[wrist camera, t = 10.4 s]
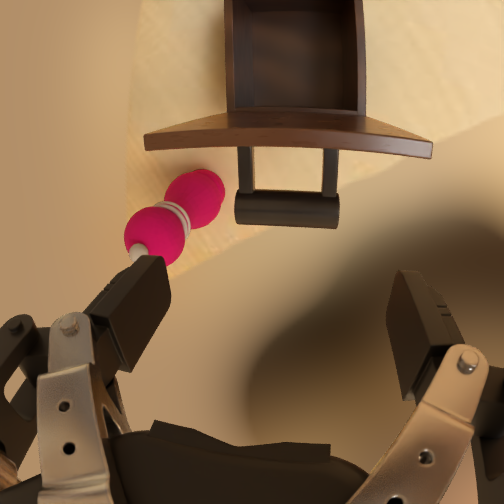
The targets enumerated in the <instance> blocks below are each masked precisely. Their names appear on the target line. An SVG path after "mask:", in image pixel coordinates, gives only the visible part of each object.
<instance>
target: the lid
mask: <svg viewBox="0 0 504 504" xmlns="http://www.w3.org/2000/svg"><path fill="white" fill-rule="evenodd" d="M143 137H144V146H145V150H146V151H152V150H166V149H181V148H201V147H237V152H238V176H239V189H238V190H237V192H236V196H235V205H234V213H235V220H236V223H237V224H244V225H268V226H289V227H310V228H327V229H336V228H337V226H338V221H339V208H340V202H339V194H338V193H336V192H337V177H338V158H339V149H340V150H353V151H365V152H375V153H384V154H393V155H402V156H409V157H417V158H424V159H431V156H432V148H433V142H432V141H429V140H427V139H425V138H422V137H420V136H418V135H415V134H413V133H410V132H408V131H405V130H403V129H400V128H397V127H395V126H392V125H389V124H387V123H384V122H381V121H378V120H376V119H373V118H370V117H367V116H359V115H347V114H334V113H317V112H289V111H251V112H225V113H221V114H217V115H212V116H208V117H204V118H200V119H196V120H192V121H189V122H185V123H181V124H177V125H174V126H170V127H167V128H164V129H160V130H157V131H154V132H150V133H147V134H145V135H144V136H143ZM254 146H266V147H304V148H323V165H322V188H321V192H315V191H294V190H266V189H255V169H254Z"/></svg>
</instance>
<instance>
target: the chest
mask: <svg viewBox="0 0 504 504" xmlns="http://www.w3.org/2000/svg"><path fill="white" fill-rule="evenodd" d="M224 25H225V66H226V98H227V112H251V111H289V112H317V113H334V114H347V115H359V116H366V50H365V28H364V13H363V1H362V0H224Z"/></svg>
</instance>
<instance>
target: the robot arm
mask: <svg viewBox="0 0 504 504" xmlns="http://www.w3.org/2000/svg"><path fill="white" fill-rule="evenodd" d="M170 303H171V290H170V285H169V280H168V274H167V269H166V264H165V260H164V258H163V257H162V256H157V255H141V256H140V257H139V258H138V259H137V260H136V261H135V262H134V263H133V264H132V265H131V266H130V267H128V268H126V269H125V270H123V271H121V272H120V273H118V274H117V275H116V276H115V277H114V278H113V279H112V280H111V281H110V284H107V286H106V287H105V288H104V290H103V291H101V292H100V293H99V295H97V297H96V298H95V299H94V300H93V301H92V302H91V303H90V304H89V306H88V307H87V308H86V309H85V310H84V311H83V312H82V313H80V312H72V313H68V314H65V315H63V316H62V317H60V318H58V319H57V320H56V321H55V322H54V323H53V325H52V326H51V327H42V328H37V327H36V325H35V323H34V321H33V319H32V317H31V316H29V315H27V314H22V315H17V316H15V317H13V318H11V319H9V320H8V321H7V322H6V323H5V324H4V325H3V326H2V327H1V328H0V504H439V503H440V501H441V499H442V498H443V496H444V494H445V492H446V491H447V489H448V487H449V485H450V483H451V481H452V479H453V477H454V476H455V474H456V472H457V470H458V467H459V466H460V463H461V461H462V459H463V457H464V455H465V453H466V450H467V448H468V446H469V443H470V441H471V446H472V452H473V459H474V466H475V474H476V481H477V491H478V504H504V368H498V367H494V366H489V363H488V361H487V359H486V357H485V355H484V354H483V353H482V352H481V351H480V350H478V349H477V348H475V347H473V346H470V345H467V344H465V342H464V340H463V337H462V335H461V333H460V331H459V329H458V327H457V325H456V322H455V321H454V318H453V316H451V312H450V310H449V309H448V308H447V305H446V303H445V301H444V299H443V297H442V295H441V294H440V293H438V292H437V291H436V290H435V289H434V288H433V287H432V286H427V285H426V283H425V281H424V279H423V277H422V275H421V273H420V272H419V271H403V270H398V271H397V273H396V275H395V279H394V283H393V287H392V292H391V295H390V299H389V303H388V306H387V311H386V325H387V330H388V334H389V338H390V342H391V346H392V351H393V355H394V360H395V364H396V369H397V374H398V378H399V383H400V388H401V394H402V399H403V401H410V400H415V402H416V408H415V410H414V411H413V413H412V414H411V416H410V417H409V419H408V421H407V422H406V424H405V425H404V427H403V428H402V430H401V431H400V433H399V434H398V436H397V437H396V439H395V440H394V441H393V443H392V444H391V446H390V447H389V448H388V450H387V451H386V453H385V454H384V455H383V457H382V458H381V459H380V461H379V462H378V463H377V464H376V466H375V467H374V468H373V470H372V471H371V472H370V473H369V474H368V473H367V472H365V471H364V470H362V469H361V468H359V467H358V466H356V465H355V464H353V463H350V462H348V461H346V460H343V459H340V458H338V457H334V456H330V446H331V445H330V444H309V443H292V442H281V443H274V444H264V445H254V446H242V447H237V446H233V445H230V444H228V443H225V442H223V441H220V440H218V439H216V438H213V437H211V436H208V435H206V434H204V433H202V432H200V431H197V430H195V429H192V428H187V427H183V426H178V425H174V424H169V423H166V422H162V421H158V420H154V423H153V425H152V427H151V429H150V431H149V430H146V431H134V432H132V431H131V429H130V426H129V424H128V421H127V418H126V414H125V411H124V407H123V403H122V399H121V395H120V391H119V386H118V382H117V379H116V377H115V374H116V372H117V371H118V370H121V371H125V372H129V373H131V372H132V370H133V369H134V367H135V365H136V363H137V362H138V360H139V358H140V356H141V355H142V353H143V351H144V350H145V348H146V346H147V344H148V343H149V341H150V339H151V338H152V336H153V334H154V333H155V331H156V329H157V327H158V326H159V324H160V322H161V321H162V319H163V317H164V316H165V314H166V312H167V311H168V309H169V307H170ZM18 366H19V367H20V369H21V371H22V372H23V373H24V375H25V376H26V379H25V381H24V382H23V384H22V385H21V387H20V388H19V390H18V391H17V393H16V394H15V396H14V397H13V399H12V400H11V402H10V403H9V402H8V401H7V400H6V398H5V395H4V387H5V384H6V383H7V381H8V380H9V378H10V377H11V376H12V374H13V373H14V371H15V370H16V369H17V367H18ZM37 433H38V447H39V458H40V467H41V474H39V475H36V476H34V477H32V478H30V479H27V480H25V481H23V482H22V481H21V480H20V479H19V478H18V477H17V471H18V469H19V467H20V465H21V463H22V461H23V459H24V457H25V455H26V453H27V451H28V449H29V447H30V446H31V444H32V442H33V440H34V438H35V436H36V434H37Z"/></svg>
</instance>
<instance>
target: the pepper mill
mask: <svg viewBox="0 0 504 504" xmlns="http://www.w3.org/2000/svg"><path fill="white" fill-rule="evenodd" d="M224 197H225V188H224V185H223V182H222V180H221V179H220V178H219V177H218V176H217V175H216V174H215V173H213V172H212V171H209V170H205V169H200V170H195V171H193V172H189V173H185V174H182V175H180V176H178V177H177V178H176V179H175V180H174V181H173V182H172V183H171V184H170V185H169V187H168V189H167V191H166V193H165V197H164V201H162V202H159V203H157V204H155V205H154V206H152V207H146V208H144V209H141V210H140V211H138V212H136V213H135V214H134V215H133V216H132V217H131V218H130V220H129V222H128V223H127V225H126V228H125V232H124V241H125V246H126V249H127V251H128V253H129V257H130V259H131V260H132V261H133V262H135V261H136V260H137V259H138V258H139V257H140V256H141V255H157V256H162V257H163V258H164V260H165V264H166V266H168V265H170V264H172V263H173V262H174V261H175V260H176V259H177V258H178V257H179V256H180V254H181V253H182V251H183V248H184V244H185V240H186V239H187V238H188V236H189V234H190V230H191V229H197V228H201V227H204V226H206V225H208V224H209V223H210V222H211V221H212V220H213V219H214V218H215V217H216V216H217V215H218V213H219V211H220V207H221V204H222V202H223V200H224Z"/></svg>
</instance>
